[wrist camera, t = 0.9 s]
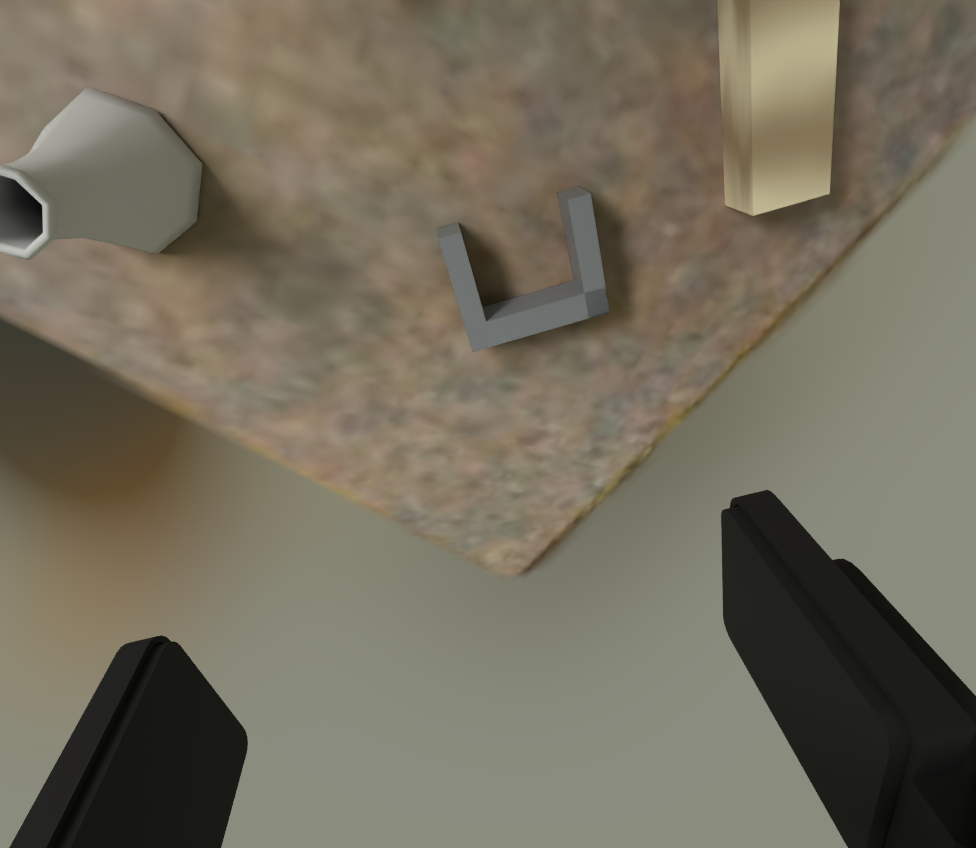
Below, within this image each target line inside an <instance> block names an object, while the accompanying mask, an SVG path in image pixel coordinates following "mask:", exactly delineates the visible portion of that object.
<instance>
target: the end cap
mask: <svg viewBox="0 0 976 848" xmlns="http://www.w3.org/2000/svg"><path fill="white" fill-rule="evenodd" d="M557 194H558V199H559V204H560V209H561V215H562V220H563V225H564V231H565V236H566V241H567V246H568V252H569V257H570V262H571V268H572V273H573V278H574V280H573V281H570V282H566V283H563V284H559V285H556V286H553V287H549V288H546V289H542V290H539V291H535V292H532V293H529V294H525V295H522V296H518V297H515V298H512V299H508V300H505V301H501V302H498V303H495V304H491V305H488V306H484V307H482V305H481V302H480V298H479V294H478V291H477V287H476V284H475V280H474V277H473V273H472V270H471V266H470V263H469V259H468V255H467V252H466V248H465V245H464V241H463V238H462V234H461V231H460V227H459V224H458V223H454V224H451V225H448V226H444V227H441V228H438V229H437V233H438V240H439V243H440V246H441V249H442V253H443V256H444V259H445V263H446V266H447V269H448V272H449V276H450V279H451V282H452V286H453V289H454V292H455V295H456V299H457V302H458V305H459V309H460V312H461V315H462V318H463V322H464V325H465V328H466V331H467V335H468V338H469V341H470V345H471V348H472V351H473V352H475V351H478V350H481V349H485V348H488V347H492V346H495V345H499V344H502V343H506V342H509V341H513V340H516V339H519V338H523V337H526V336H530V335H533V334H537V333H540V332H544V331H547V330H551V329H554V328H557V327H561V326H564V325H568V324H571V323H575V322H578V321H582V320H585V319H589V318H592V317H595V316H599V315H602V314H606V313H609V312H610V311H609V305H608V299H607V292H606V286H605V280H604V274H603V267H602V261H601V255H600V249H599V242H598V236H597V230H596V224H595V217H594V211H593V205H592V198H591V193H589V192H588V191H586V190H584V189H583V188H581V187H579V186H578V187H574V188H571V189H568V190H564V191H561V192H558V193H557Z"/></svg>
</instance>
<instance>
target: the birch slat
mask: <svg viewBox="0 0 976 848" xmlns="http://www.w3.org/2000/svg"><path fill="white" fill-rule="evenodd" d="M717 3H718V29H719V56H720V82H721V109H722V135H723V162H724V188H725V205H726V206H728V207H731V208H734V209H736V210H739V211H742V212H744V213H747V214H749V215H752V216H755V215H758V214H761V213H765V212H768V211H772V210H775V209H779V208H782V207H786V206H789V205H793V204H796V203H800V202H803V201H807V200H810V199H814V198H817V197H821V196H824V195H828V194H830V178H831V159H832V140H833V121H834V102H835V83H836V65H837V46H838V27H839V8H840V0H717Z"/></svg>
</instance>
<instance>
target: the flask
mask: <svg viewBox="0 0 976 848" xmlns="http://www.w3.org/2000/svg"><path fill="white" fill-rule="evenodd" d="M202 165H203V164H202V163H201V162H200V161H199V160H198V158H197V157H196V156H195V155H194V154H193V153H192V152H191V150H190V149H189V148H188V147H187V146H186V145H185V144H184V142H183V141H182V140H181V139H180V138H179V137H178V136H177V135H176V133H175V132H174V131H173V130H172V129H171V128H170V127H169V125H168V124H167V123H166V122H165V121H164V120H163V119H162V117H161V116H160V115H159V114H158V113H157V112H156V111H155V110H154V109H151V108H148V107H145V106H142V105H139V104H137V103H134V102H131V101H128V100H125V99H122V98H119V97H116V96H113V95H110V94H107V93H104V92H102V91H99V90H96V89H93V88H90V87H86V88H85V89H84V90H83V91H82V92H81V93H80V94H79V95H78V96H77V97H76V98H75V99H74V100H73V101H72V102H71V103H70V104H69V105H68V106H66V107H65V108H64V109H63V110H62V111H61V112H60V113H59V114H58V115H57V116H56V117H55V118H54V119H53V120H52V121H51V122H50V123H49V124H48V125H47V126H46V127H45V128H44V129H43V131H42V132H41V134H40V136H39V137H38V139H37V141H36V143H35V144H34V146H33V148H32V149H31V151H30V152H29V153H28V154H27V155H26V156H24V157H22V158H21V159H19V160H17V161H16V162H11V163H6V164H0V253H4V254H8V255H12V256H15V257H19V258H23V259H27V260H30V259H32V258H33V257H34V256H36V255H37V254H38V253H39V252H40V251H41V250H42V249H43V248H45V247H46V246H47V245H48V244H49V243H50V242H51V241H52V240H55V239H71V238H86V239H91V240H96V241H102V242H107V243H112V244H117V245H122V246H126V247H130V248H134V249H138V250H142V251H146V252H151V253H156V254H158V253H160V252H161V251H162V250H163V249H164V248H166V247H167V246H168V245H169V244H170V243H172V242H173V241H174V240H175V239H176V238H178V237H179V236H180V235H181V234H182V233H184V232H185V231H186V230H187V229H188V228H190V227H191V226H192V225H193V224H194V223H196V222H197V215H198V205H199V195H200V185H201V175H202Z"/></svg>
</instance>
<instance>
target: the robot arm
mask: <svg viewBox="0 0 976 848" xmlns="http://www.w3.org/2000/svg"><path fill="white" fill-rule="evenodd" d="M721 527H722V577H723V579H722V580H723V619H724V624H725V627H726V630H727V633H728V635H729V637H730V639H731V641H732V643H733V644H734V647H735V648H736V650H737V652H738V654H739V655H740V657H741V659H742V661H743V663H744V664H745V666H746V668H747V670H748V671H749V673H750V675H751V677H752V678H753V680H754V682H755V683H756V686H757V687H758V689H759V691H760V693H761V694H762V696H763V698H764V700H765V701H766V703H767V705H768V707H769V709H770V710H771V712H772V714H773V716H774V717H775V719H776V721H777V723H778V724H779V726H780V728H781V730H782V732H783V733H784V735H785V737H786V739H787V740H788V742H789V744H790V746H791V748H792V749H793V751H794V753H795V755H796V756H797V758H798V760H799V762H800V763H801V765H802V767H803V768H804V771H805V772H806V774H807V776H808V778H809V779H810V781H811V783H812V785H813V787H814V788H815V790H816V792H817V794H818V795H819V797H820V799H821V801H822V802H823V804H824V806H825V808H826V810H827V811H828V813H829V815H830V817H831V818H832V820H833V822H834V824H835V826H836V827H837V829H838V831H839V833H840V834H841V836H842V838H843V840H844V842H845V843H846V845H847V846H848V848H976V696H975V695H974V694H973V693H972V692H971V690H970V689H969V688H968V687H967V686H966V685H965V684H964V683H963V682H962V681H961V680H960V678H959V677H958V676H957V675H956V674H955V673H954V672H953V671H952V670H951V669H950V668H949V666H948V665H947V664H946V663H945V662H944V661H943V660H942V659H941V658H940V657H939V656H938V655H937V653H936V652H935V651H934V650H933V649H932V648H931V647H930V646H929V645H928V644H927V643H926V641H925V640H923V638H922V637H921V636H920V635H919V634H918V633H917V632H916V631H915V629H914V628H913V627H912V626H911V625H910V624H909V623H908V622H907V621H906V620H905V619H904V618H903V616H902V615H901V614H900V613H899V612H898V611H897V610H896V609H895V608H894V607H893V606H892V605H891V603H889V601H888V600H887V599H886V598H885V597H884V596H883V595H882V594H881V592H880V591H879V590H878V589H877V588H876V587H875V586H874V585H873V584H872V583H871V582H870V581H869V580H868V578H867V577H866V576H865V575H864V574H863V573H862V572H861V571H860V570H859V569H858V568H857V567H856V566H855V565H853V564H852V563H851V562H849V561H847V560H845V559H835V560H832V559H831V558H830V557H829V556H828V555H827V554H826V552H825V551H824V550H823V549H822V548H821V547H820V546H819V545H818V544H817V542H816V541H815V540H814V539H813V538H812V537H811V535H810V534H809V533H808V532H807V531H806V530H805V529H804V527H803V526H802V525H801V524H800V523H799V522H798V521H797V519H796V518H795V517H794V516H793V515H792V514H791V513H790V512H789V510H788V509H787V508H786V507H785V506H784V505H783V504H782V502H781V501H780V500H779V499H778V498H777V497H776V496H775V495H774V494H773V493H772V492H771V491H768V490H765V491H761V492H757V493H753V494H748V495H744V496H740V497H736V498H733V499H732V501H731V504H730V508H729V509H725V510H723V511H722V514H721ZM247 745H248V741H247V735H246V732H245V730H244V728H243V726H242V725H241V724H240V723H239V721H238V720H237V719H236V717H235V716H234V715H233V714H232V712H231V711H230V710H229V708H228V707H227V706H226V705H225V703H224V702H223V701H222V699H221V698H220V697H219V695H218V694H217V693H216V692H215V690H214V689H213V688H212V686H211V685H210V684H209V682H208V681H207V680H206V678H205V677H204V676H203V675H202V673H201V672H200V671H199V669H198V668H197V667H196V666H195V664H194V663H193V662H192V660H191V659H190V658H189V656H188V655H187V654H186V652H185V651H184V650H183V649H182V647H181V646H180V645H179V644H178V643H176V642H171V641H170V640H169V639H168V638H167V637H164V636H156V637H152V638H148V639H144V640H139V641H135V642H131V643H127V644H125V645H124V646H122V647H121V648H120V649H119V651H118V652H117V653H116V655H115V657H114V659H113V660H112V662H111V664H110V666H109V668H108V670H107V672H106V674H105V675H104V677H103V679H102V681H101V682H100V684H99V686H98V688H97V690H96V692H95V693H94V695H93V697H92V699H91V701H90V702H89V704H88V706H87V708H86V710H85V711H84V713H83V715H82V717H81V719H80V720H79V722H78V724H77V726H76V728H75V730H74V732H73V733H72V735H71V737H70V739H69V740H68V742H67V744H66V746H65V748H64V750H63V751H62V753H61V755H60V757H59V759H58V760H57V762H56V764H55V766H54V768H53V769H52V771H51V773H50V775H49V777H48V779H47V780H46V782H45V784H44V786H43V788H42V789H41V791H40V793H39V795H38V797H37V799H36V801H35V802H34V804H33V806H32V808H31V809H30V811H29V813H28V815H27V817H26V819H25V820H24V822H23V824H22V826H21V828H20V830H19V831H18V833H17V835H16V837H15V839H14V840H13V842H12V844H11V846H10V848H221V845H222V842H223V838H224V835H225V831H226V827H227V824H228V820H229V816H230V812H231V809H232V805H233V801H234V798H235V794H236V790H237V786H238V783H239V779H240V775H241V772H242V768H243V764H244V760H245V756H246V753H247Z"/></svg>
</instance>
